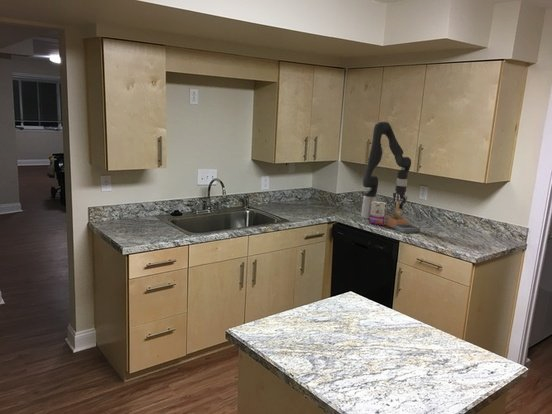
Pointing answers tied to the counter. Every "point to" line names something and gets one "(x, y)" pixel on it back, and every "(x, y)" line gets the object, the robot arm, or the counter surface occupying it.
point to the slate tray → (406, 228)
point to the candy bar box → (378, 213)
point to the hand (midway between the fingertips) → (398, 208)
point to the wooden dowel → (397, 211)
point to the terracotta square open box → (395, 221)
